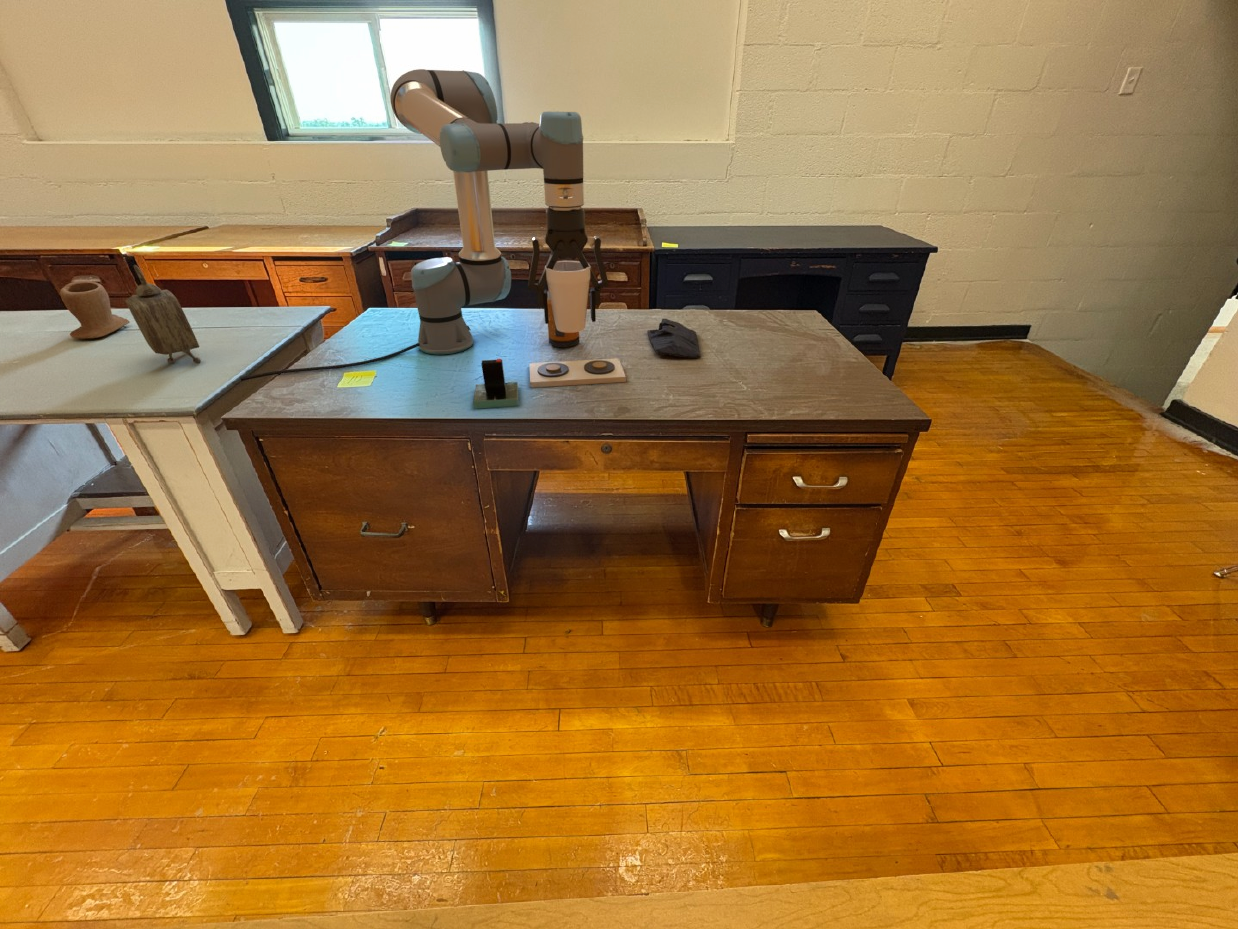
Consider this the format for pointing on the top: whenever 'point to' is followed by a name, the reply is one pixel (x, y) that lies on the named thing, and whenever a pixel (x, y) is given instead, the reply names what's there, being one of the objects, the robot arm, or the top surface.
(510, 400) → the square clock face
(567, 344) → the canister
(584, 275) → the foam cup
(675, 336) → the dark grey folded cloth
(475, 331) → the top surface
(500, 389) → the tall black monolith
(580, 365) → the hob
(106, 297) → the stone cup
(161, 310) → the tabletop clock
